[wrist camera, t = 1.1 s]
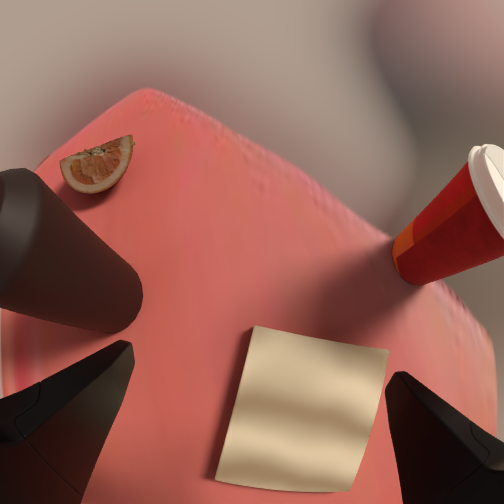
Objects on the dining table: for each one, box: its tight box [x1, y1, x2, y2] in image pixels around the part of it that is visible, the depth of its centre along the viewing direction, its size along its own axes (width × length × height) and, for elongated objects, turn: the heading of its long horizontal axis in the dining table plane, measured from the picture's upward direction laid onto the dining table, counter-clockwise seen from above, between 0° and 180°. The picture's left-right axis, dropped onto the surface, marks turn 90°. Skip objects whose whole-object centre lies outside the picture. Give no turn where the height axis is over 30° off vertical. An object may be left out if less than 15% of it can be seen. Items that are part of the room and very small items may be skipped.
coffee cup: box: [392, 144, 504, 285], centre depth 18 cm, size 8×8×15 cm
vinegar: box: [0, 168, 143, 333], centre depth 13 cm, size 7×7×20 cm
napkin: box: [215, 325, 389, 492], centre depth 19 cm, size 14×12×2 cm
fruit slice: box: [60, 135, 135, 194], centre depth 24 cm, size 8×7×5 cm
